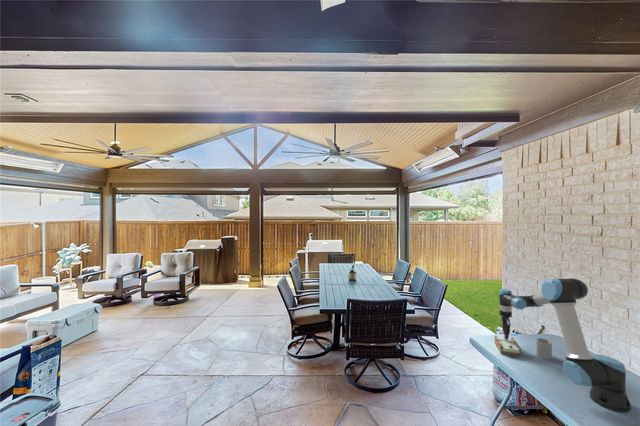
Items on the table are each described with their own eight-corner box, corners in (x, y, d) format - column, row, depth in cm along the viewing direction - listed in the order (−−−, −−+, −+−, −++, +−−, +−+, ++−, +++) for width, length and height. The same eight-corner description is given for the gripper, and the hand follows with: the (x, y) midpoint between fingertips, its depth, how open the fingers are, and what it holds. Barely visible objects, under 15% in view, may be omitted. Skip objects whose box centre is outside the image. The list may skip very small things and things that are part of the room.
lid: (519, 353, 191) (519, 348, 191) (504, 351, 194) (504, 346, 194) (513, 344, 202) (513, 340, 202) (499, 343, 205) (499, 339, 205)
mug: (554, 360, 186) (554, 344, 186) (539, 358, 189) (539, 342, 189) (546, 352, 198) (546, 336, 198) (532, 350, 201) (532, 335, 200)
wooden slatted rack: (520, 356, 193) (520, 348, 193) (500, 354, 197) (500, 345, 197) (513, 345, 208) (513, 337, 208) (494, 343, 212) (494, 335, 212)
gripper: (514, 314, 197) (515, 347, 197) (508, 307, 209) (509, 339, 209) (502, 313, 199) (502, 345, 199) (497, 307, 211) (497, 337, 212)
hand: (506, 342), depth 204 cm, fingers closed
